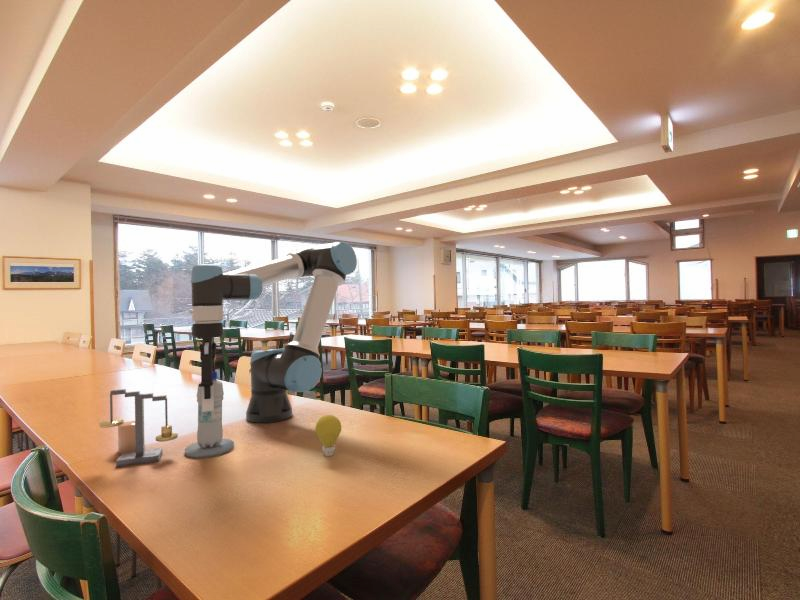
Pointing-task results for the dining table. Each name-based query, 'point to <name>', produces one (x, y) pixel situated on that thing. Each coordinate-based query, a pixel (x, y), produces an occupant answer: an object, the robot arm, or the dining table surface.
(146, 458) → the balance
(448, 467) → the dining table surface
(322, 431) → the light bulb
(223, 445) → the dish
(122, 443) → the peach rounded capsule
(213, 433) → the bottle
